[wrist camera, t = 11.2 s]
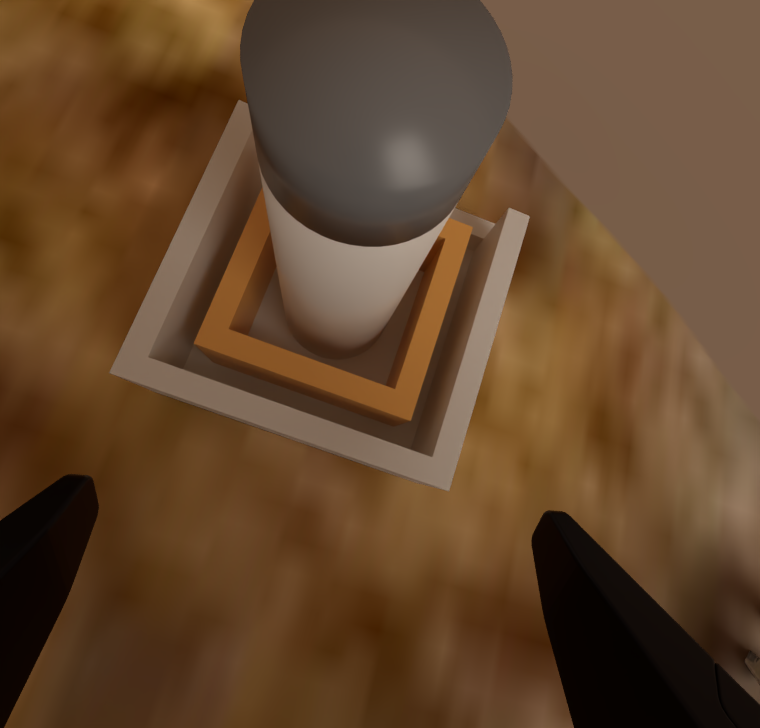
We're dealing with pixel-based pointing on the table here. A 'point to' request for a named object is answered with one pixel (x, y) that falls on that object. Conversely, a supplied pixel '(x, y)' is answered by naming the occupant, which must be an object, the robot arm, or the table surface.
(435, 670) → the table surface
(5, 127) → the table surface
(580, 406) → the table surface
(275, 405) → the socket box
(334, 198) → the plug
